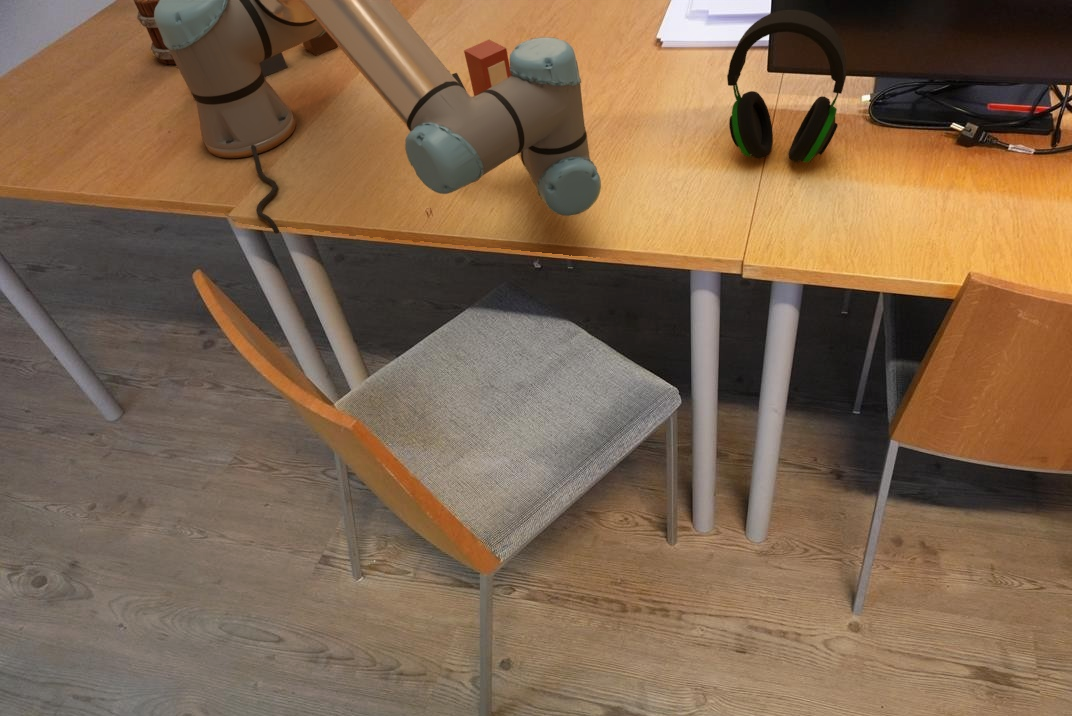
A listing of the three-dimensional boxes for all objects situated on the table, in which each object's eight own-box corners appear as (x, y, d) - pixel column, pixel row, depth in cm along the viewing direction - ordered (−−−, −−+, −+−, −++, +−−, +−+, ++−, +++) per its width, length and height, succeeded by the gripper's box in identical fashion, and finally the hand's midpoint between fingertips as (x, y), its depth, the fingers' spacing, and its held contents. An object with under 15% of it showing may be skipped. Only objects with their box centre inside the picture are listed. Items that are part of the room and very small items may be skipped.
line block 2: (338, 47, 154) (320, -6, 146) (315, 56, 152) (296, 3, 144) (327, 39, 156) (308, -13, 149) (304, 48, 155) (284, -4, 147)
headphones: (828, 178, 109) (849, 35, 94) (719, 167, 113) (722, 29, 98) (837, 143, 114) (859, 2, 99) (733, 134, 119) (738, -2, 104)
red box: (517, 107, 131) (506, 48, 123) (493, 118, 129) (481, 59, 121) (500, 97, 134) (489, 39, 126) (476, 108, 132) (463, 50, 124)
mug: (139, 63, 157) (107, -19, 147) (194, 44, 167) (167, -34, 157) (182, 69, 153) (152, -15, 143) (235, 49, 163) (210, -31, 153)
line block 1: (288, 67, 150) (266, 14, 142) (264, 77, 148) (241, 24, 140) (277, 59, 152) (255, 7, 145) (253, 69, 151) (230, 16, 143)
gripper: (456, 185, 104) (426, 115, 118) (628, 136, 108) (580, 74, 122) (442, 134, 99) (412, 67, 112) (624, 85, 102) (574, 25, 116)
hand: (499, 70), depth 117 cm, fingers open, 13 cm apart
